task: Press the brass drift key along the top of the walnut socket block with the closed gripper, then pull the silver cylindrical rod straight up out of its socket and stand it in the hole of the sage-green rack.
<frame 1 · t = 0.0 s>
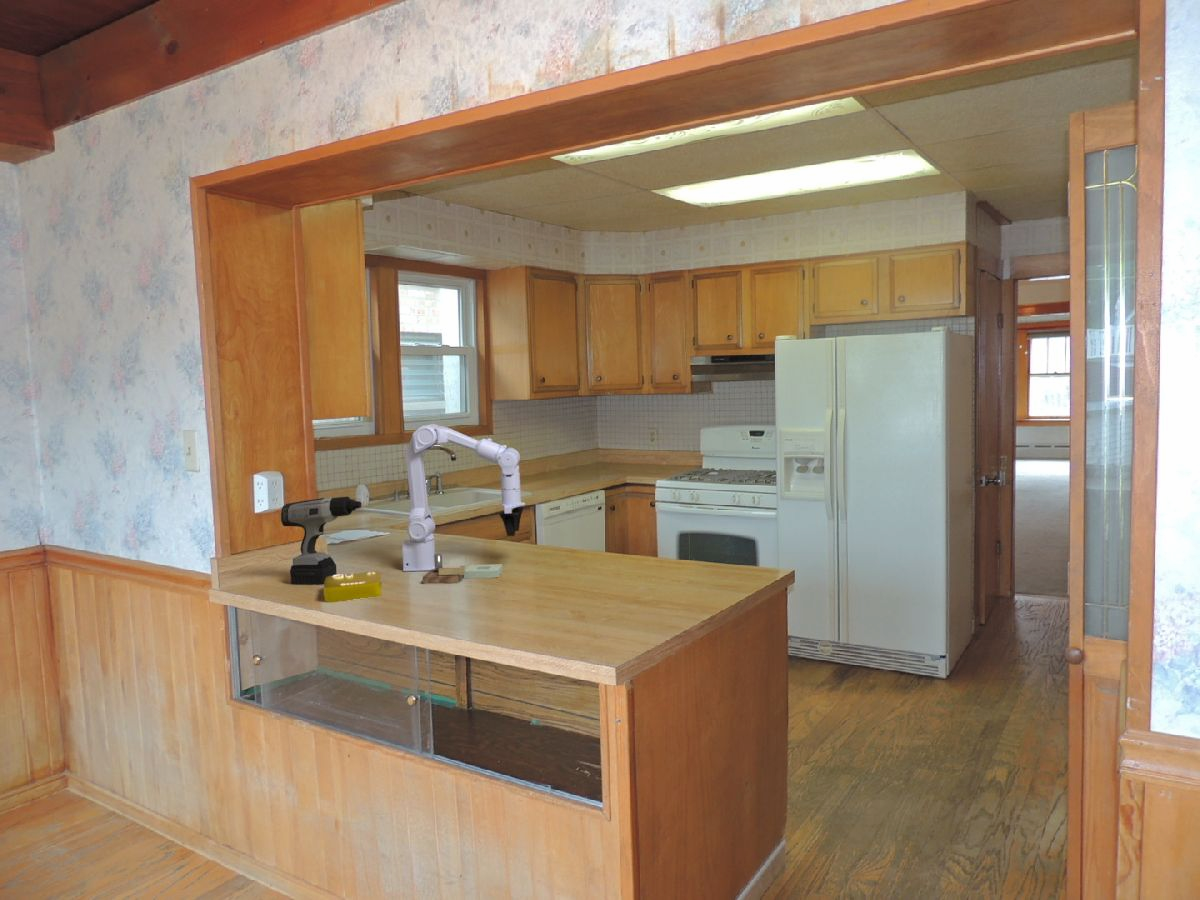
hand: (513, 533, 259), 10 cm above the counter, tool pointing down, fingers open, 7 cm apart
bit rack: (483, 574, 251), on the counter
drift key: (451, 570, 243), point 3 cm above the counter, slide at 0.0 cm
cordless drill: (326, 582, 250), on the counter
socket block: (444, 579, 247), on the counter
element tile: (354, 595, 235), on the counter
silver cylindrical rod: (439, 578, 249), resting in socket block
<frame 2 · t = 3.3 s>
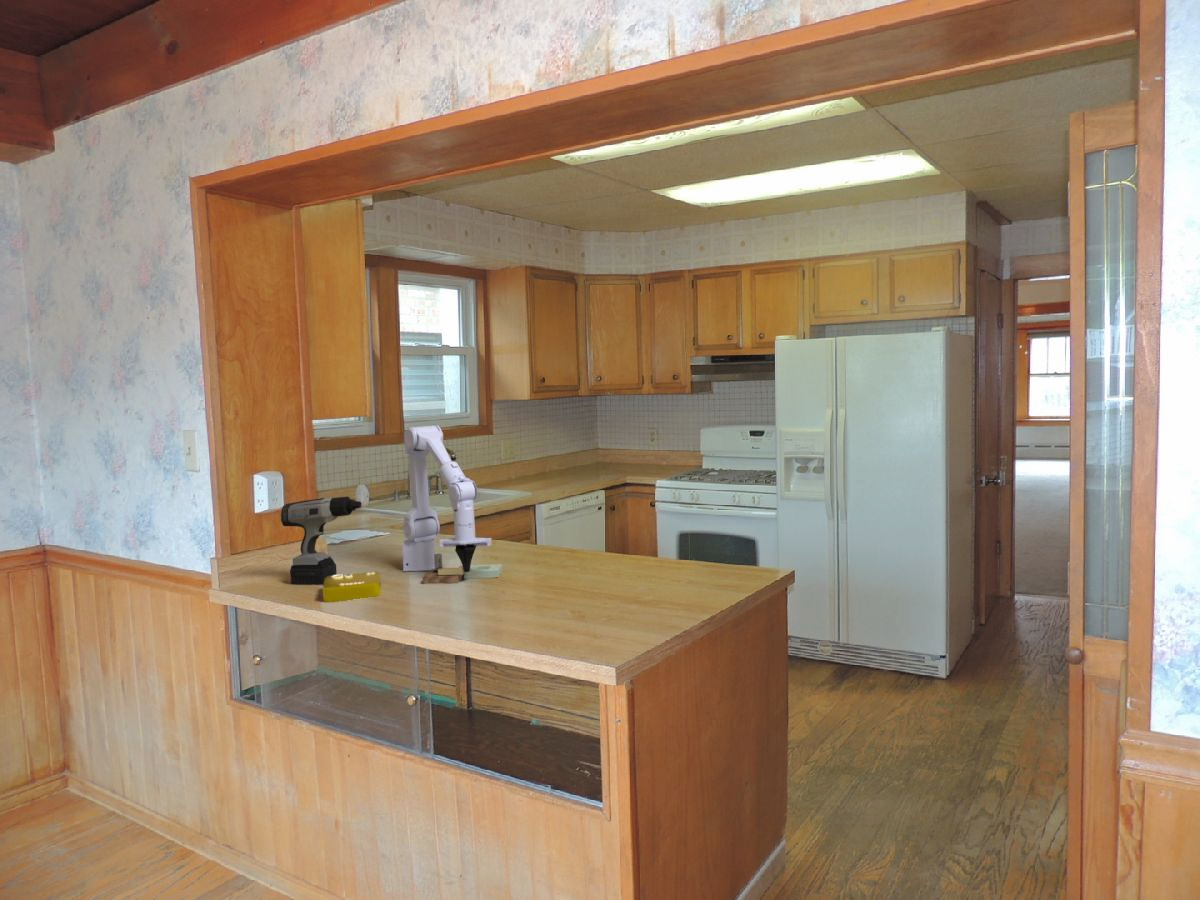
hand: (467, 571, 243), 3 cm above the counter, tool pointing down, fingers closed
drift key: (451, 570, 243), point 3 cm above the counter, slide at 0.2 cm, touching gripper
everything else where it was.
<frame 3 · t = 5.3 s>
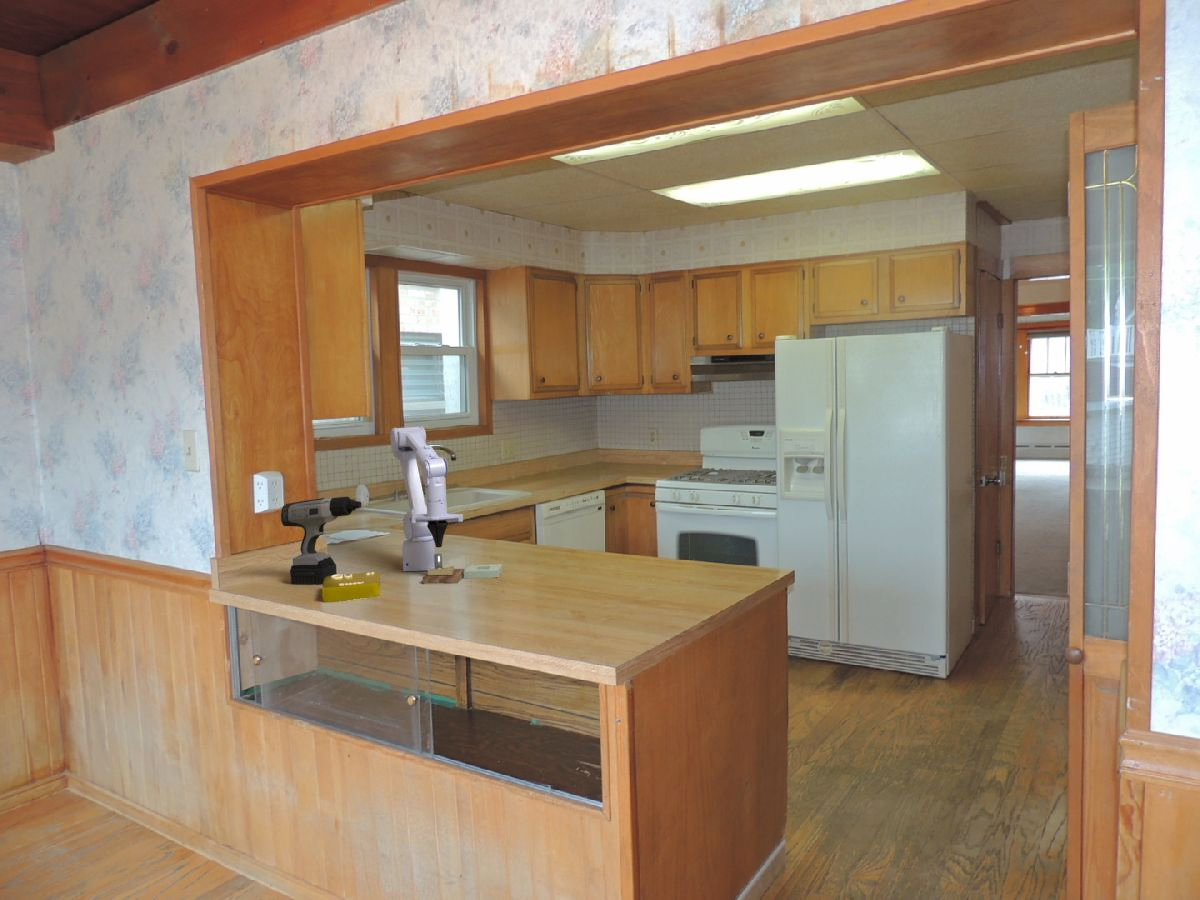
hand: (439, 546, 248), 9 cm above the counter, tool pointing down, fingers closed
drift key: (440, 570, 243), point 3 cm above the counter, slide at 3.1 cm
everything else where it was.
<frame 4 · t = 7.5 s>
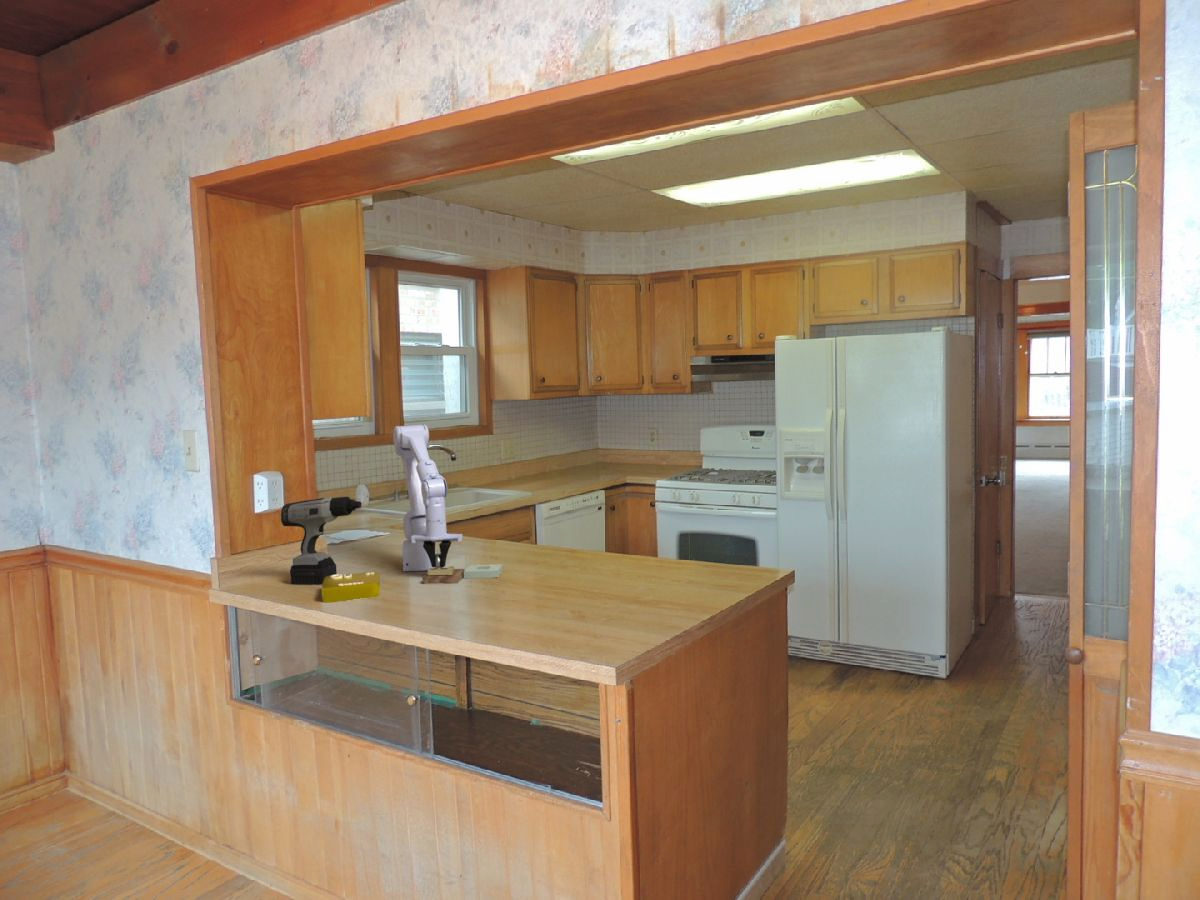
hand: (438, 566, 249), 3 cm above the counter, tool pointing down, fingers closed on silver cylindrical rod, 2 cm apart
silver cylindrical rod: (439, 578, 249), resting in socket block, touching gripper
everything else where it was.
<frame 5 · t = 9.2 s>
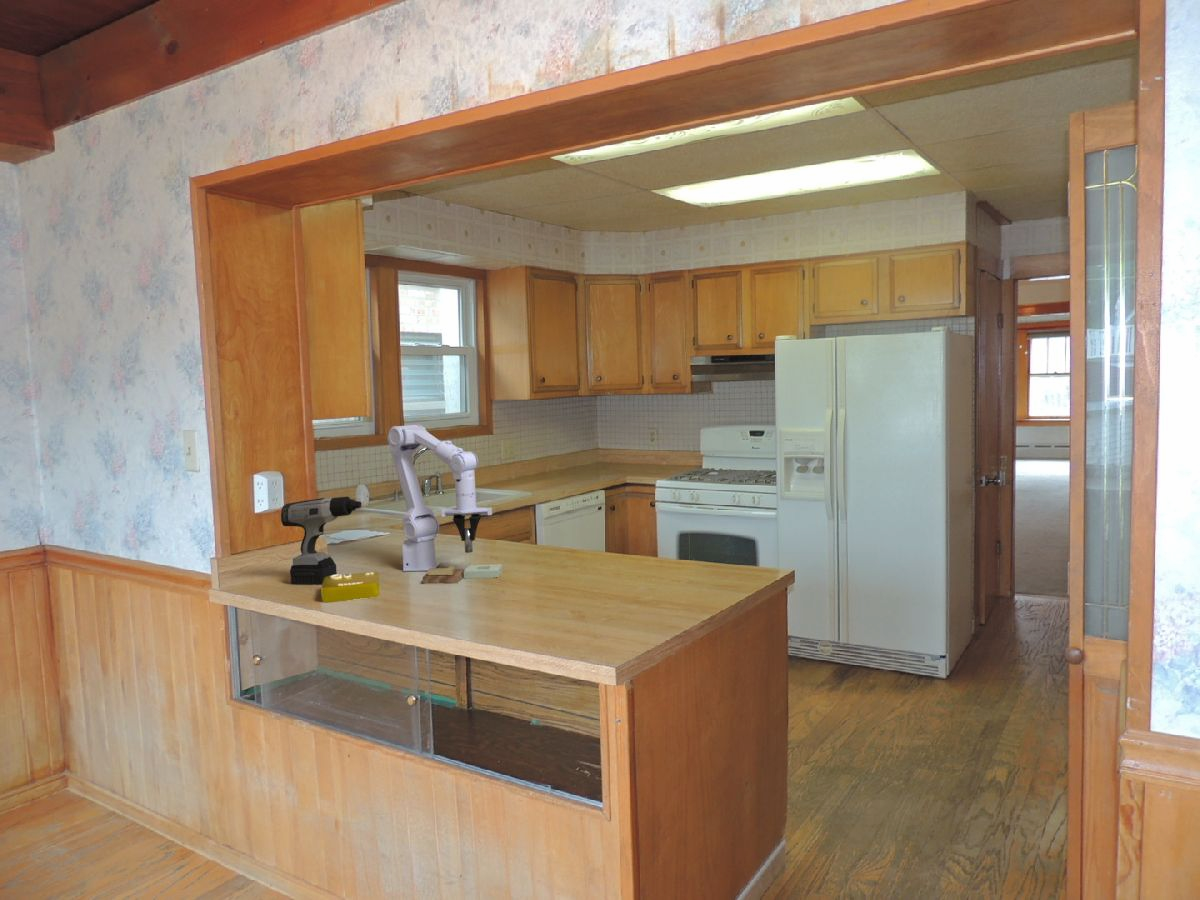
hand: (468, 540, 249), 11 cm above the counter, tool pointing down, fingers closed on silver cylindrical rod, 2 cm apart
silver cylindrical rod: (468, 551, 249), point 7 cm above the counter, touching gripper
everything else where it was.
when the fingers open (4 cm above the counter, at t = 10.9 s): silver cylindrical rod drops 1 cm, resting in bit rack.
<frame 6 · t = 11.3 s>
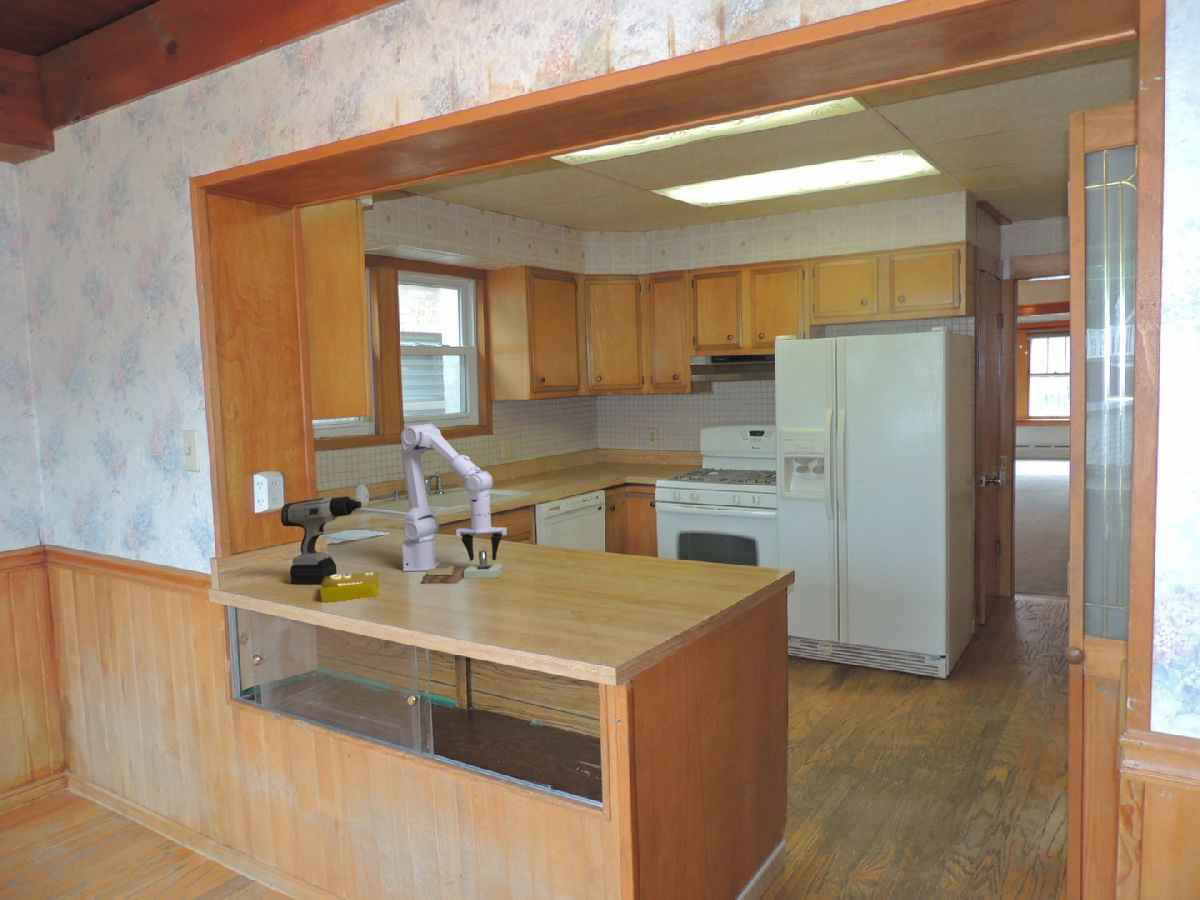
hand: (483, 559, 251), 4 cm above the counter, tool pointing down, fingers open, 6 cm apart
silver cylindrical rod: (483, 574, 251), resting in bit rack
everything else where it was.
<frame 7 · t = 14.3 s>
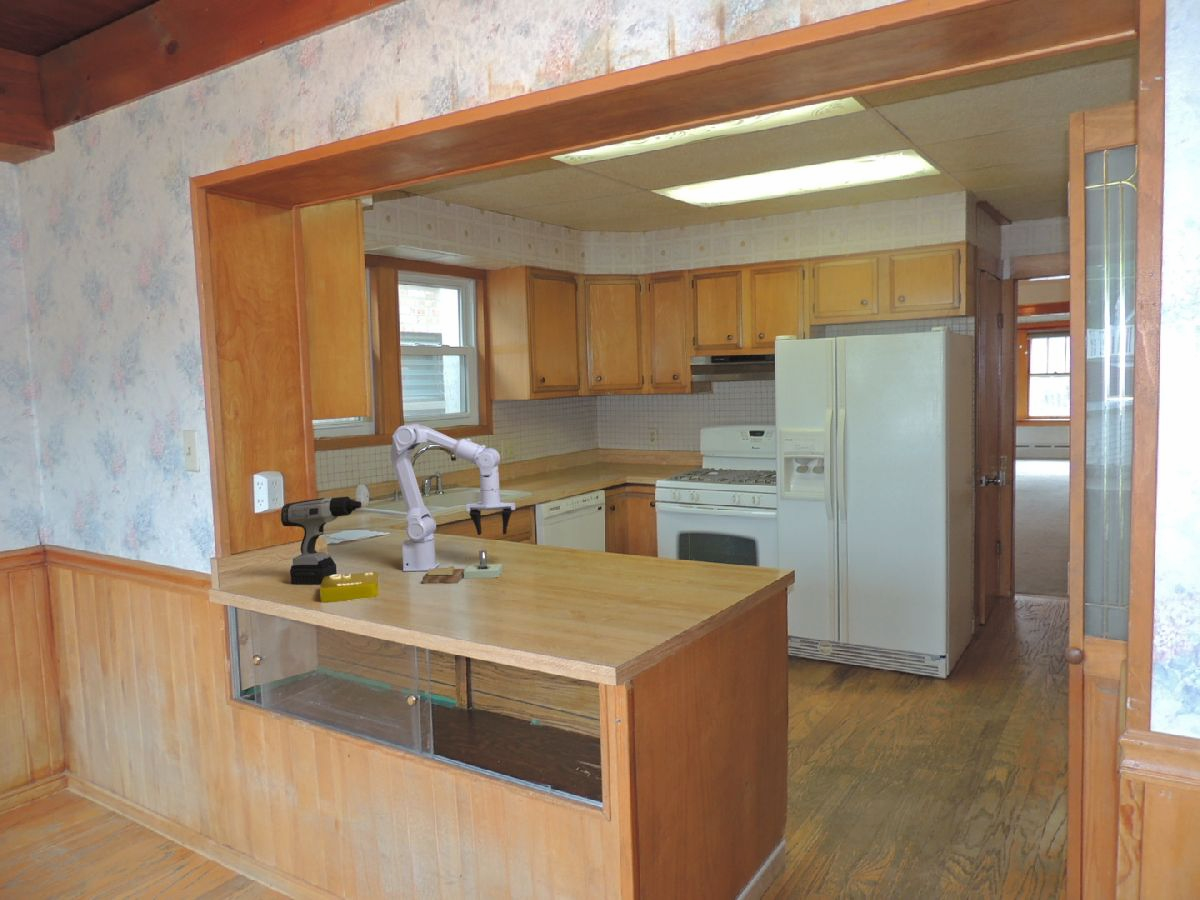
hand: (492, 534, 258), 10 cm above the counter, tool pointing down, fingers open, 7 cm apart
nothing on the counter moved.
at the end: drift key slide at 3.1 cm; silver cylindrical rod 0.1 cm off-centre on the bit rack, point 0.0 cm above the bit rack's base; silver cylindrical rod tilted 0° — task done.
